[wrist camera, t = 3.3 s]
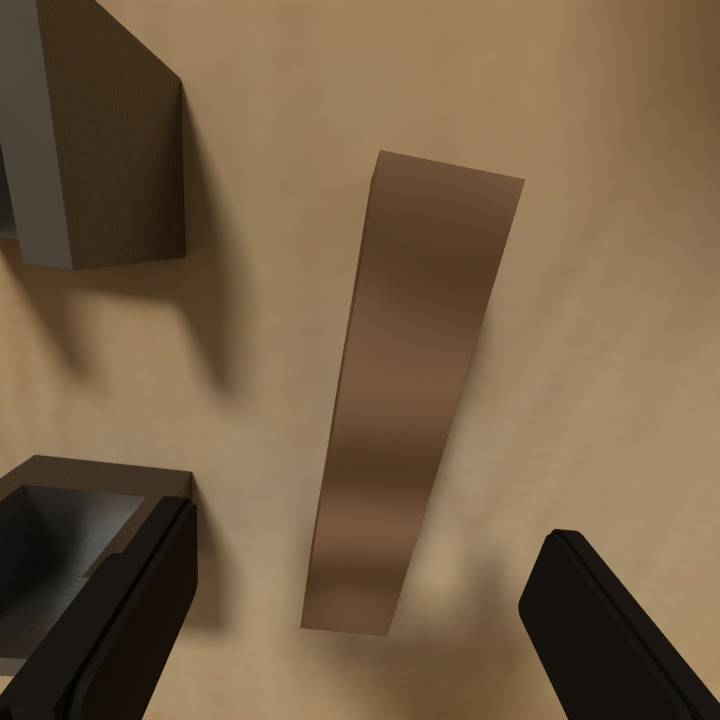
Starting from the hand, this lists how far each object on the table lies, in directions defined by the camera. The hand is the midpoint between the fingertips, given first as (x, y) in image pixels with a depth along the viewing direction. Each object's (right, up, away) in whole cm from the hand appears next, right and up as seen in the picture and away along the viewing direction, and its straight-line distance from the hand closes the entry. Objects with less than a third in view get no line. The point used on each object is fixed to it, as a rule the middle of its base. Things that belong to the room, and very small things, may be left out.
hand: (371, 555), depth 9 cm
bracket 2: (-14, -3, +9) cm, 17 cm away
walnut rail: (0, +3, +8) cm, 9 cm away
